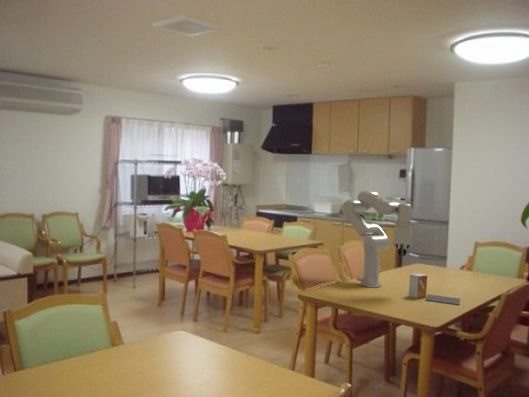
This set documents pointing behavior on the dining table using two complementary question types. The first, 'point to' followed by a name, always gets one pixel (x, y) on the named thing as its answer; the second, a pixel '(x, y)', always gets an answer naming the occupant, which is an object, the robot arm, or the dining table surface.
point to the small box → (417, 285)
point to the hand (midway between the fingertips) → (402, 255)
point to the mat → (442, 299)
